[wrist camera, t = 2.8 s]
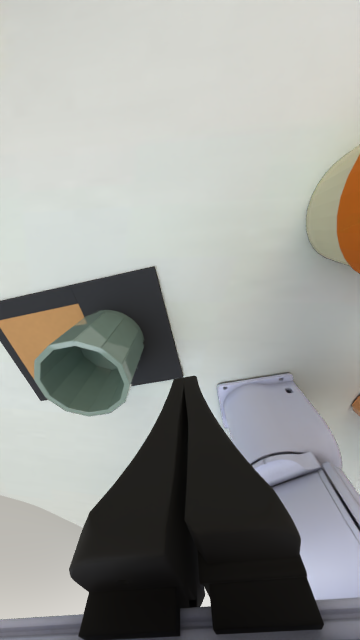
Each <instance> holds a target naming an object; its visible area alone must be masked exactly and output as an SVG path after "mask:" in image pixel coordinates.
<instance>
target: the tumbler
mask: <svg viewBox="0 0 360 640" xmlns="http://www.w3.org/2000/svg"><path fill="white" fill-rule="evenodd" d="M144 343H145V342H144V336H143V333H142V331H141V329H140V327H139V326H138V325H137V323H136V322H135V321H134V320H133V319H131V318H130V317H129V316H127V315H125V314H123V313H121V312H118V311H113V310H100V311H96V312H94V313H91V314H90V315H88V316H86V317H84V318H83V319H82V320H80V321H79V322H78V323H77V324H75V325H74V326H73V327H71V328H70V329H69V330H68V331H66V332H65V333H64V334H62V335H61V336H60V337H59V338H57V339H56V340H55V341H53V342H52V343H51V344H49V345H48V346H47V347H46V348H45V349H44V350H43V352H42V353H41V354H40V355H39V356H38V357H37V358H36V359H35V361H34V380H35V382H36V384H37V385H38V387H39V388H40V390H41V391H42V393H43V394H44V396H45V397H46V398H47V399H48V400H49V401H51V402H53V403H54V404H56V405H57V406H59V407H60V408H62V409H63V410H65V411H67V412H71V413H76V414H80V415H85V416H96V415H102V414H109V413H111V412H113V411H114V410H115V409H117V408H118V407H119V406H121V405H122V404H123V403H125V401H126V399H127V396H128V393H129V391H130V388H131V385H132V382H133V379H134V376H135V374H136V371H137V368H138V365H139V362H140V359H141V356H142V353H143V350H144Z"/></svg>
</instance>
